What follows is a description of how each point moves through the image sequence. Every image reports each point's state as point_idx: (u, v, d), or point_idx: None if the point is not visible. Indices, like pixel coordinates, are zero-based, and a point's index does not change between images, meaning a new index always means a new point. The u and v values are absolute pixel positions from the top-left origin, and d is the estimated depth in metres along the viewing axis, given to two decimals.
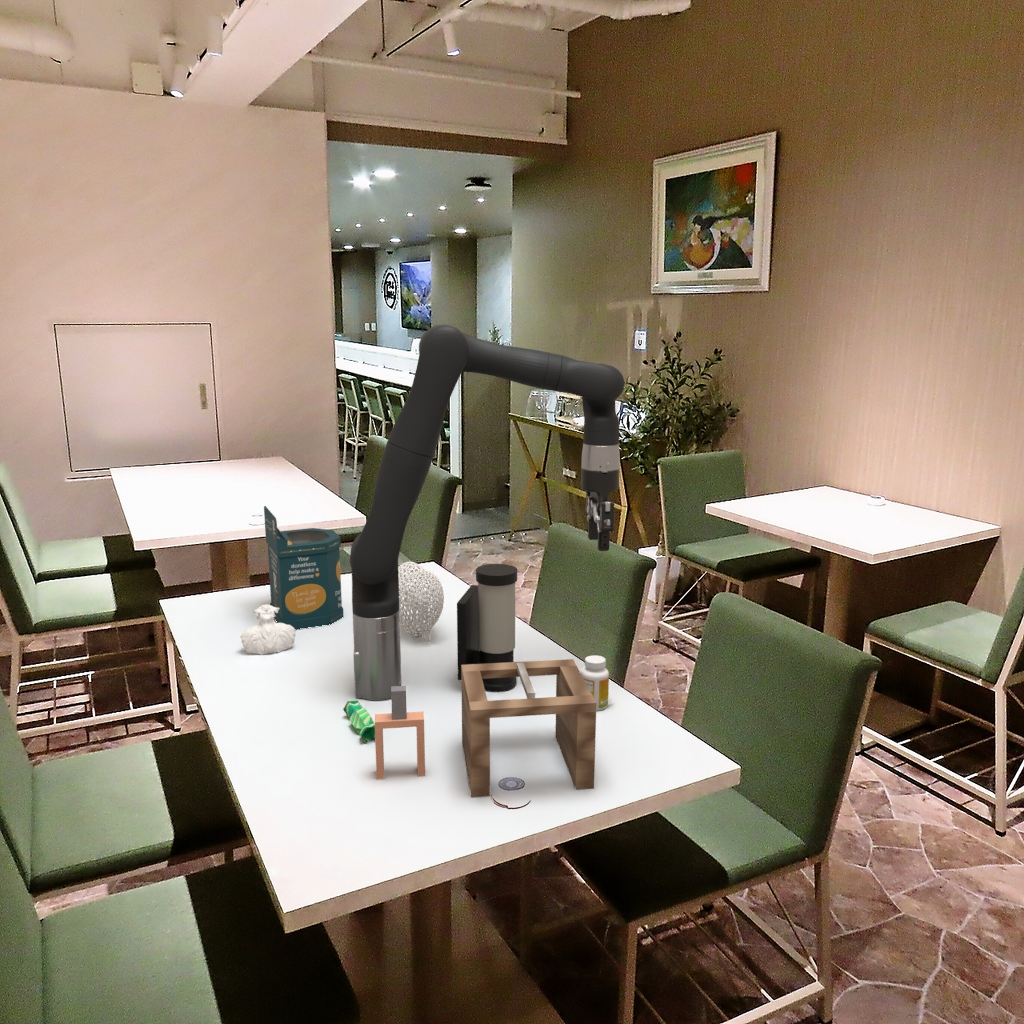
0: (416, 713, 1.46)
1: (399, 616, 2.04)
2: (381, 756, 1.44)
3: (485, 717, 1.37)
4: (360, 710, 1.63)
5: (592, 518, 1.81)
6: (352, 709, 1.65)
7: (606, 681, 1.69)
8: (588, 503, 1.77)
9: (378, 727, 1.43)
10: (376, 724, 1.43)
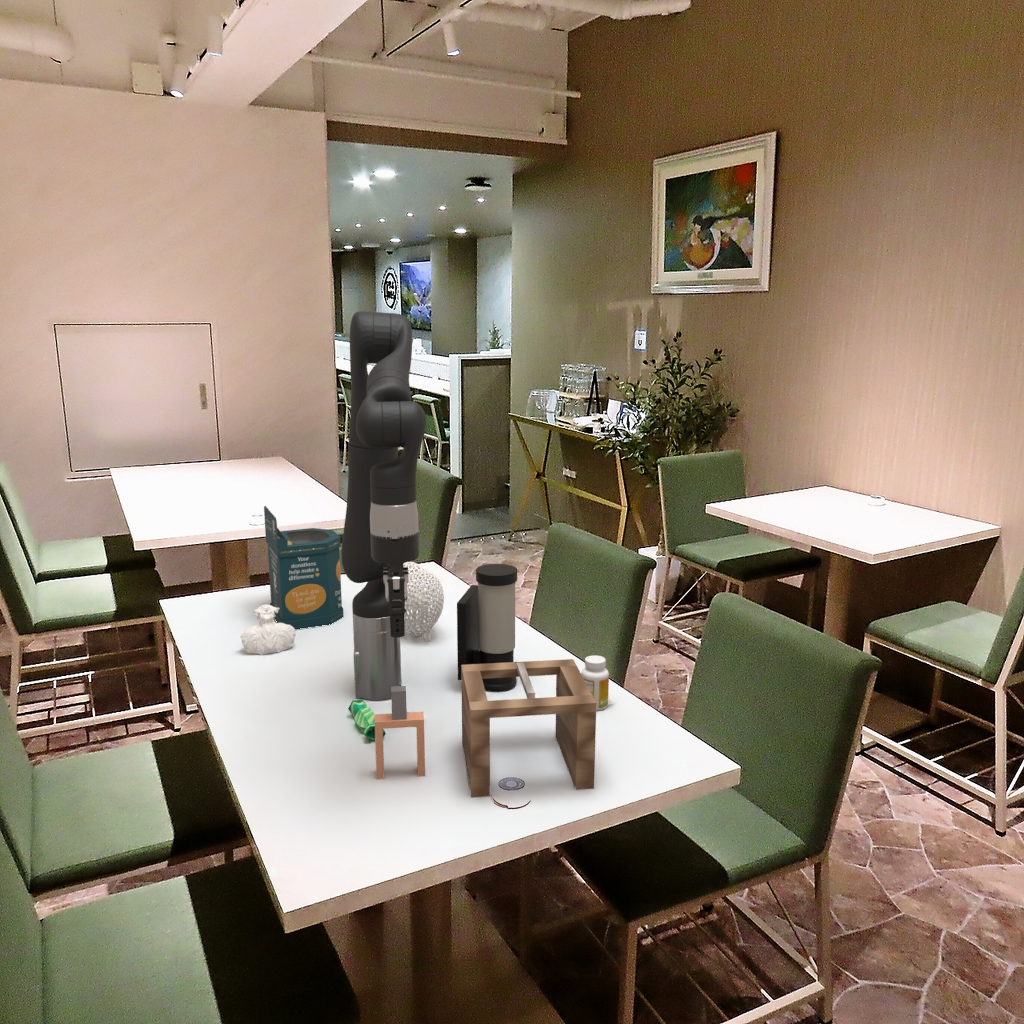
0: (416, 713, 1.46)
1: None
2: (381, 756, 1.44)
3: (485, 717, 1.37)
4: (365, 709, 1.63)
5: None
6: (357, 708, 1.65)
7: (606, 681, 1.69)
8: None
9: (378, 727, 1.43)
10: (376, 724, 1.43)
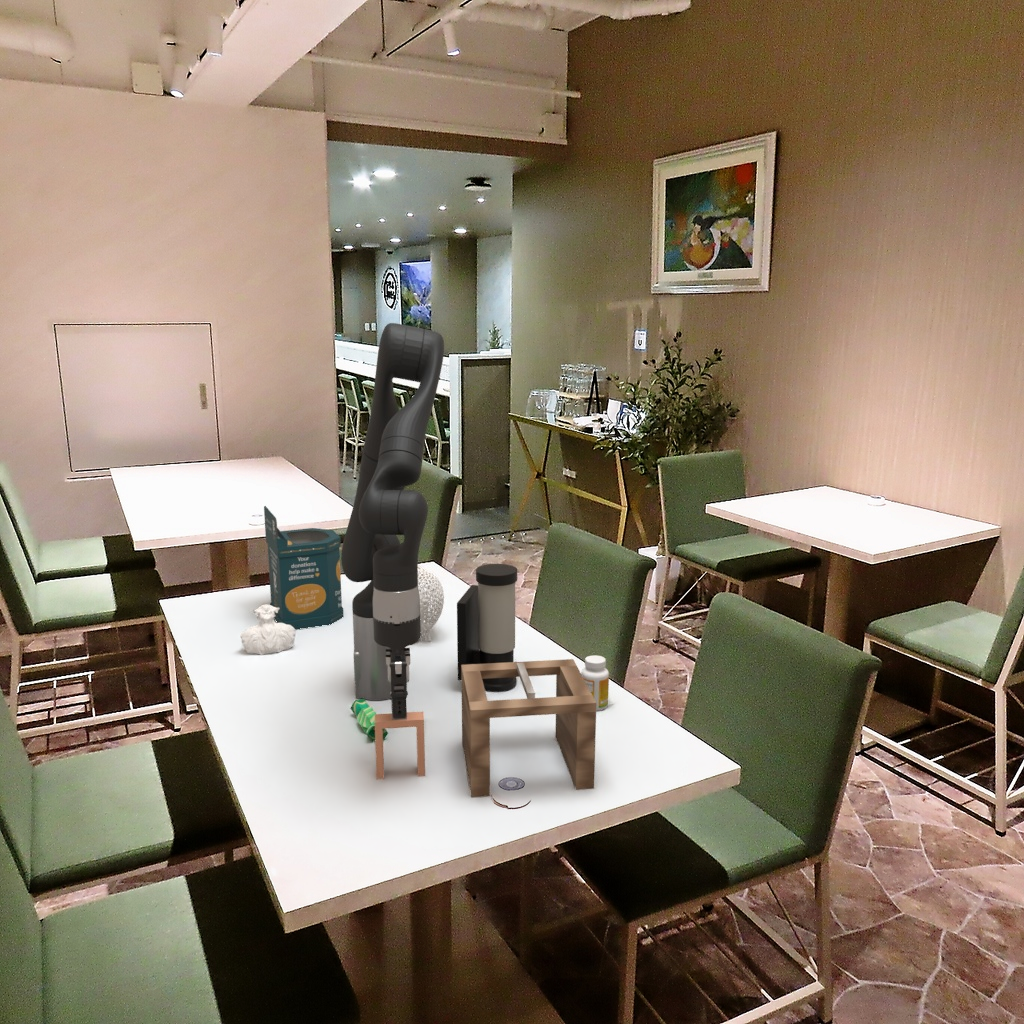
0: (416, 713, 1.46)
1: None
2: (381, 756, 1.44)
3: (485, 717, 1.37)
4: (367, 709, 1.63)
5: None
6: (359, 708, 1.65)
7: (606, 681, 1.69)
8: None
9: (378, 727, 1.43)
10: (376, 724, 1.43)
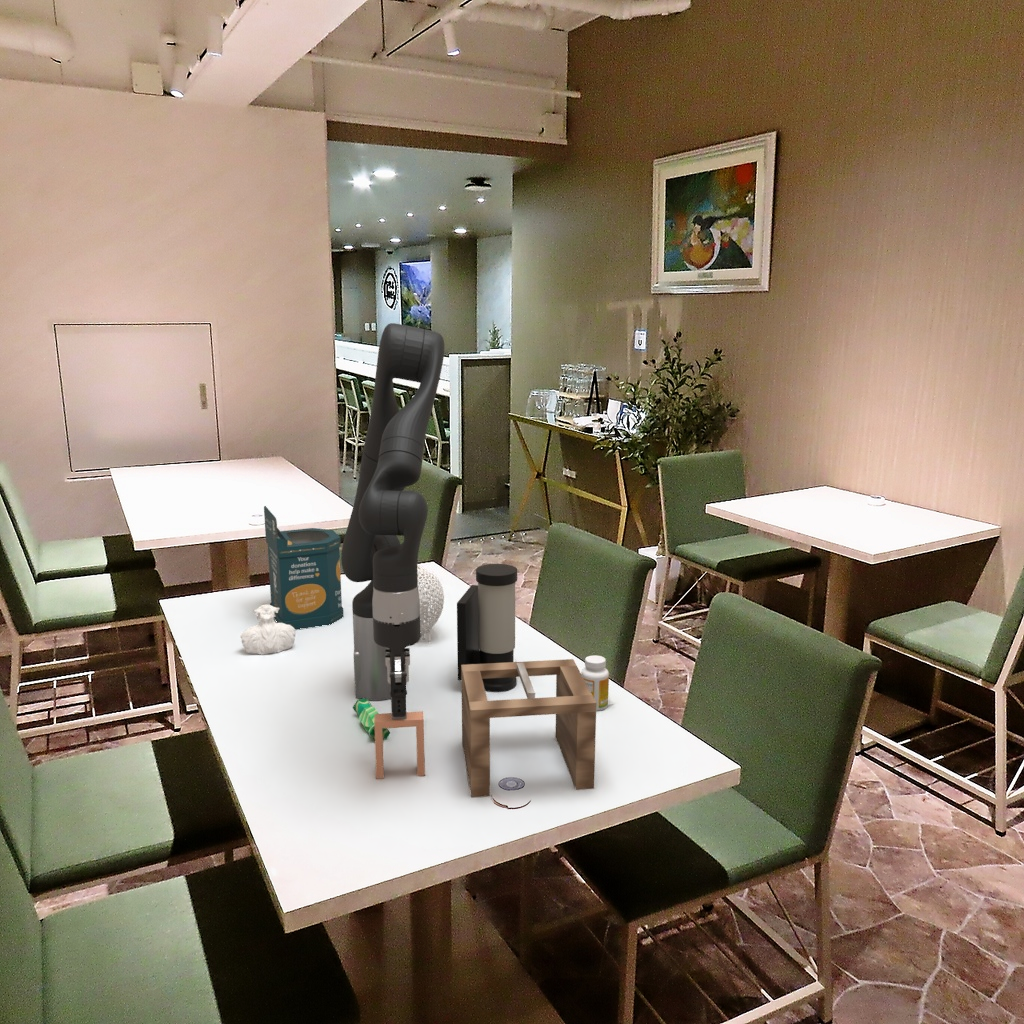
0: (416, 713, 1.46)
1: None
2: (381, 756, 1.44)
3: (485, 717, 1.37)
4: (369, 708, 1.63)
5: None
6: (362, 708, 1.65)
7: (606, 681, 1.69)
8: None
9: (378, 727, 1.43)
10: (376, 724, 1.43)
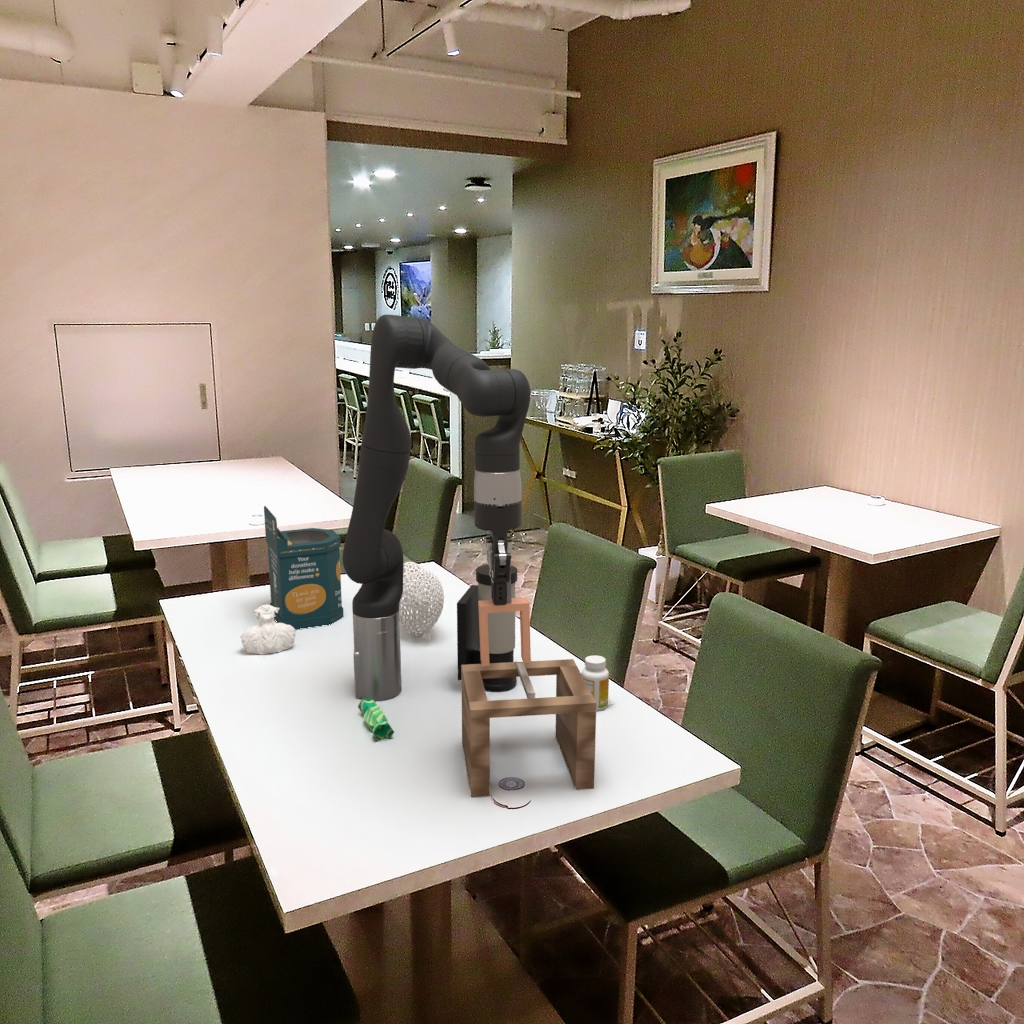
0: (520, 599, 1.43)
1: (399, 616, 2.04)
2: (486, 642, 1.42)
3: (485, 717, 1.37)
4: (374, 707, 1.64)
5: None
6: (367, 707, 1.66)
7: (606, 681, 1.69)
8: (485, 544, 1.41)
9: (483, 611, 1.41)
10: (481, 608, 1.40)
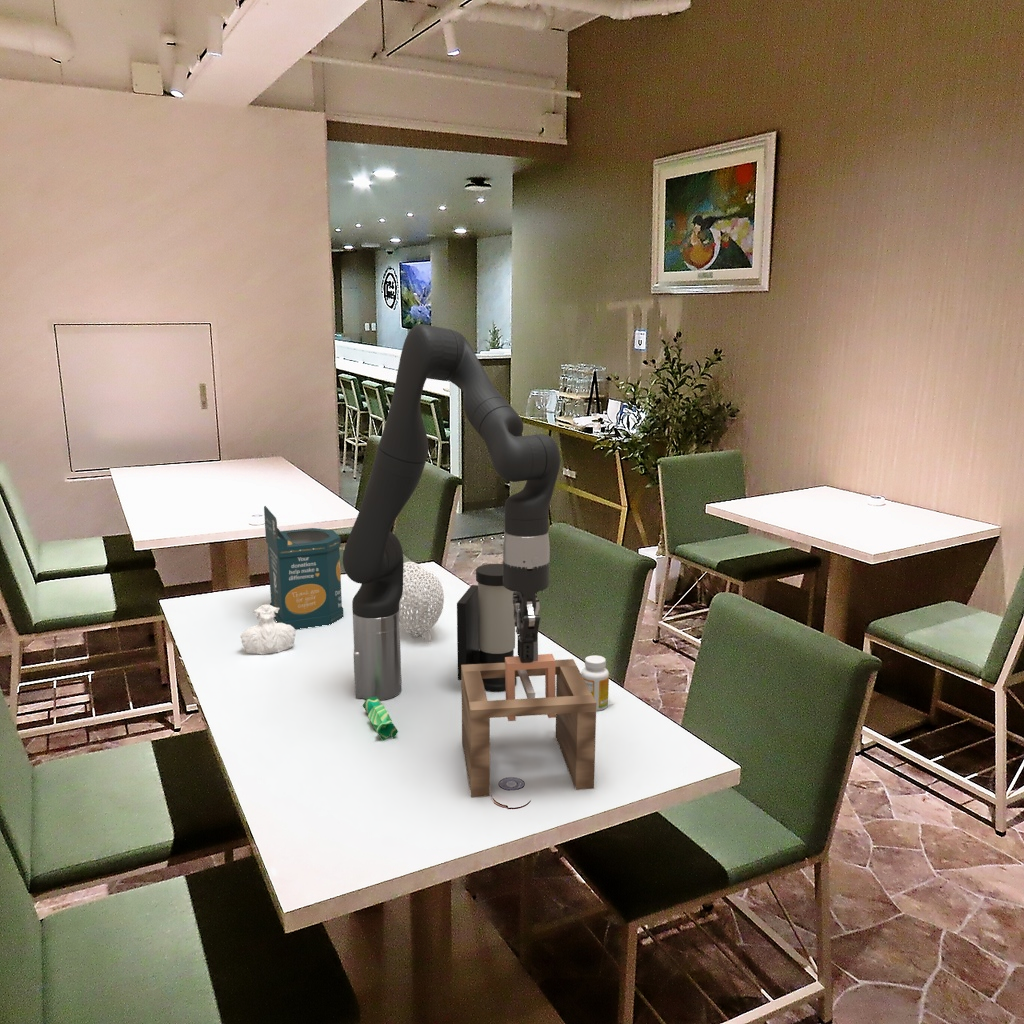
0: (545, 655, 1.47)
1: (399, 616, 2.04)
2: (513, 698, 1.45)
3: (485, 717, 1.37)
4: (378, 707, 1.64)
5: None
6: (371, 706, 1.66)
7: (606, 681, 1.69)
8: (513, 603, 1.44)
9: (510, 669, 1.44)
10: (509, 666, 1.44)
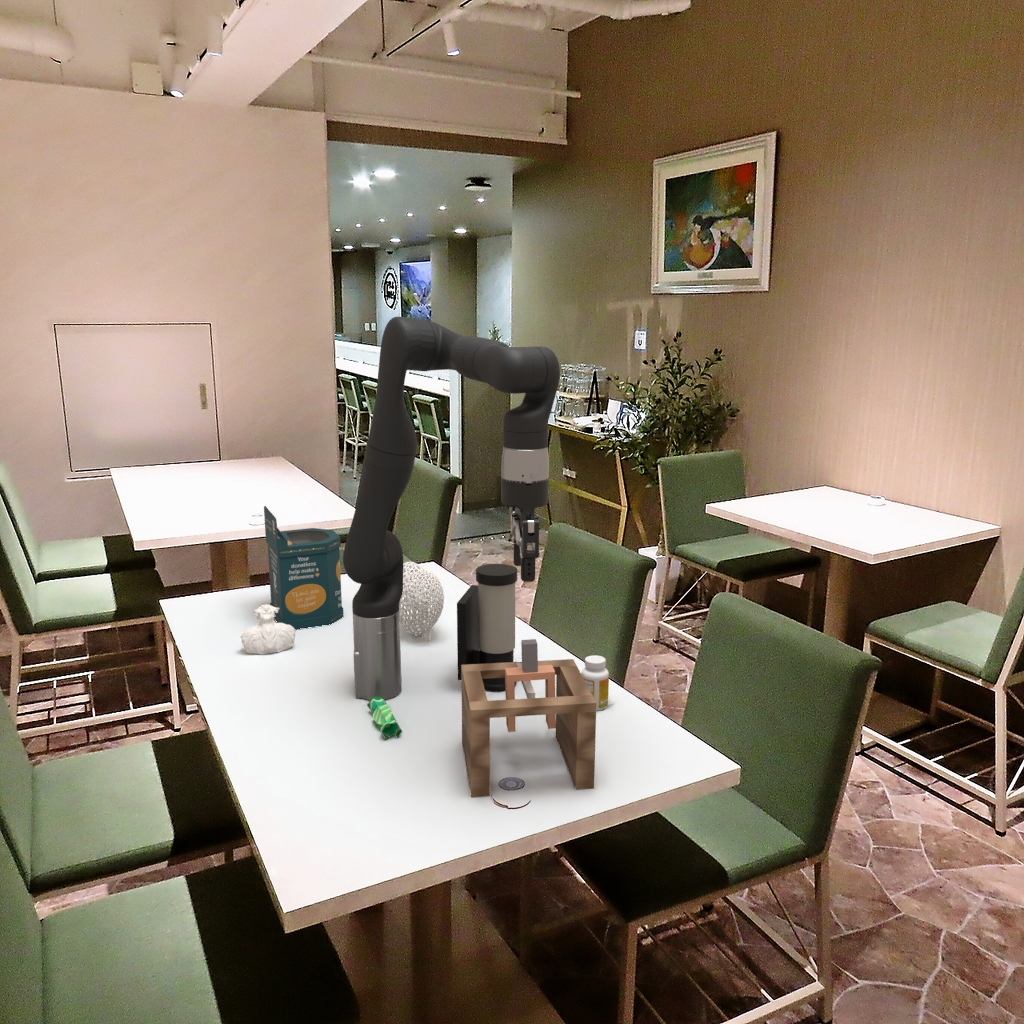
0: (545, 666, 1.47)
1: (399, 616, 2.04)
2: None
3: (485, 717, 1.37)
4: (383, 706, 1.64)
5: None
6: (376, 705, 1.66)
7: (606, 681, 1.69)
8: (511, 521, 1.42)
9: (510, 680, 1.44)
10: (508, 677, 1.44)
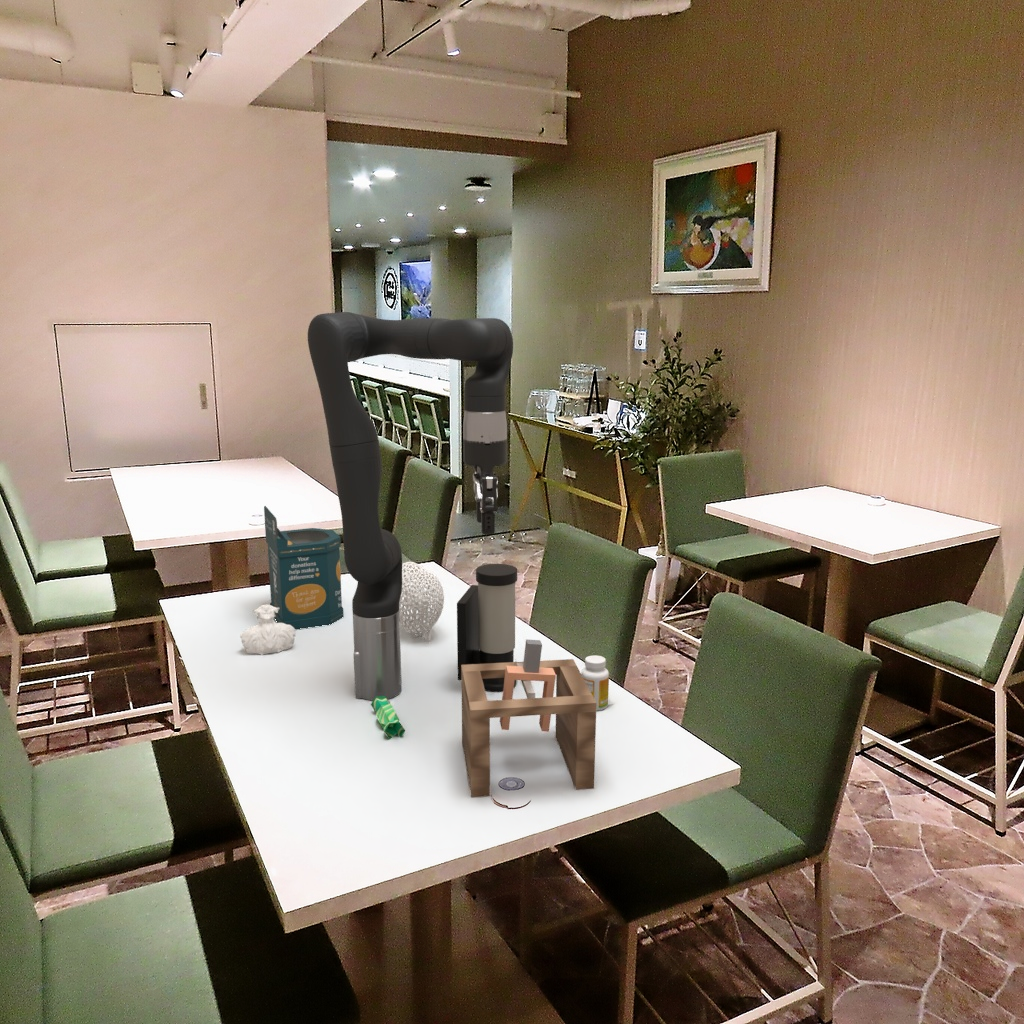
0: (546, 669, 1.47)
1: (399, 616, 2.04)
2: None
3: (485, 717, 1.37)
4: (386, 706, 1.64)
5: None
6: (379, 705, 1.67)
7: (606, 681, 1.69)
8: (473, 480, 1.54)
9: (511, 678, 1.44)
10: (509, 675, 1.44)
